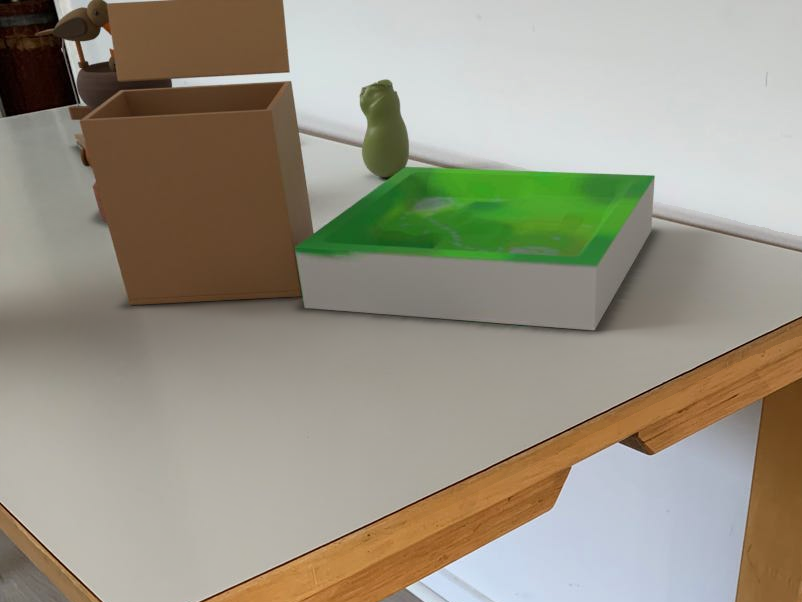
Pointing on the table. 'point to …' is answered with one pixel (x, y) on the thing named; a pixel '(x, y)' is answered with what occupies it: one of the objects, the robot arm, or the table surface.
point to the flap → (198, 38)
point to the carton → (202, 190)
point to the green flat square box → (482, 246)
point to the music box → (94, 68)
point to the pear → (383, 130)
